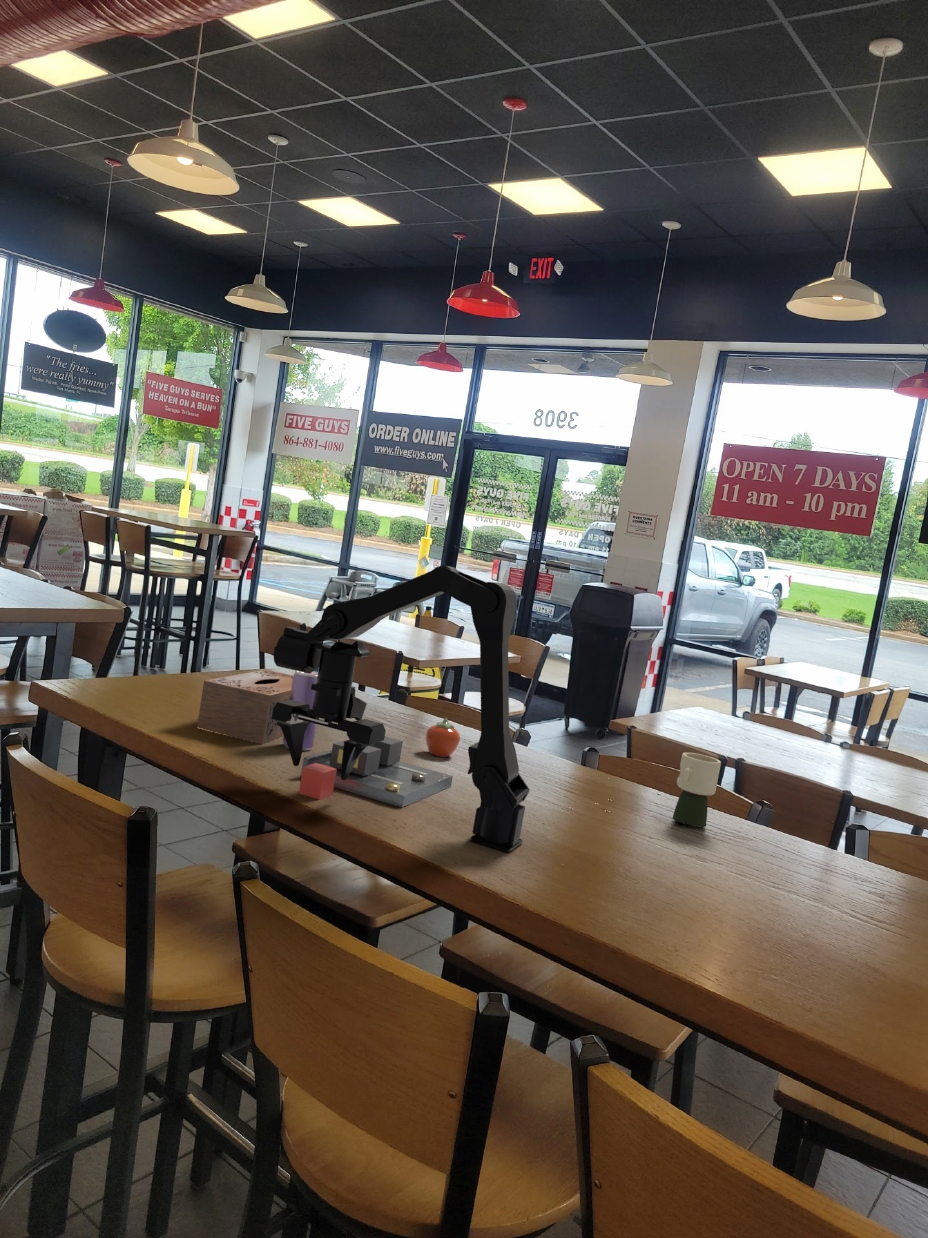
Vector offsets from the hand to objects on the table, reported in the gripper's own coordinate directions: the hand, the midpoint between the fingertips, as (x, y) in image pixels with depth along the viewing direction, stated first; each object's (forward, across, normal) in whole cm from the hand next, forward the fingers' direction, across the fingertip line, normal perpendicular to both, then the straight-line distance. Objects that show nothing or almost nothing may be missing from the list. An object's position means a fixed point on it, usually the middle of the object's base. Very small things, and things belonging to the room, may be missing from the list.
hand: (319, 772), depth 146 cm
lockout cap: (+4, 0, 0) cm, 4 cm away
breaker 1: (+1, 0, -12) cm, 12 cm away
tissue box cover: (+4, +33, -30) cm, 45 cm away
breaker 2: (+1, +1, -22) cm, 22 cm away
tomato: (+4, -1, -47) cm, 47 cm away
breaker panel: (+4, -3, -16) cm, 17 cm away
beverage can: (+4, +19, -23) cm, 30 cm away
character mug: (+4, -54, -45) cm, 70 cm away
